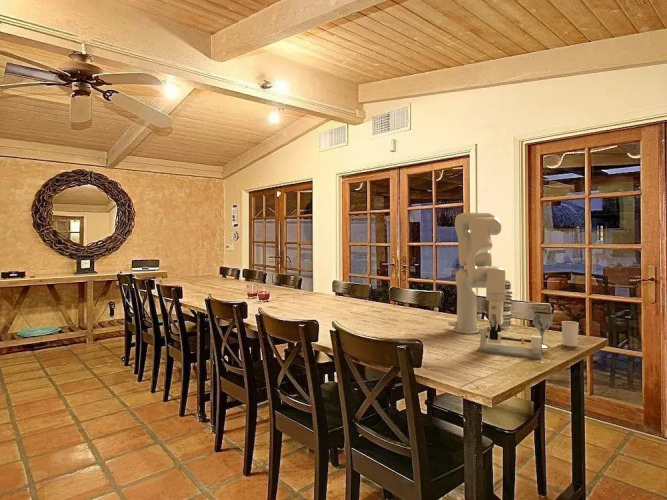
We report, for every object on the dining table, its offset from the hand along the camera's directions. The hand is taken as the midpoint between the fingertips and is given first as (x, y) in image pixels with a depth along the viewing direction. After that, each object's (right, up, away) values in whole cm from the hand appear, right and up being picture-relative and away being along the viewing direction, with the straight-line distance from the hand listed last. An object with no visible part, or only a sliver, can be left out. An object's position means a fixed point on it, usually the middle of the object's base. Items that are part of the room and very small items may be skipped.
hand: (495, 337), depth 184 cm
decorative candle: (+22, -4, +48) cm, 53 cm away
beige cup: (+37, -6, +11) cm, 39 cm away
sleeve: (0, -2, +1) cm, 2 cm away
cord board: (+5, -6, -2) cm, 8 cm away
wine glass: (+23, -6, +8) cm, 25 cm away
